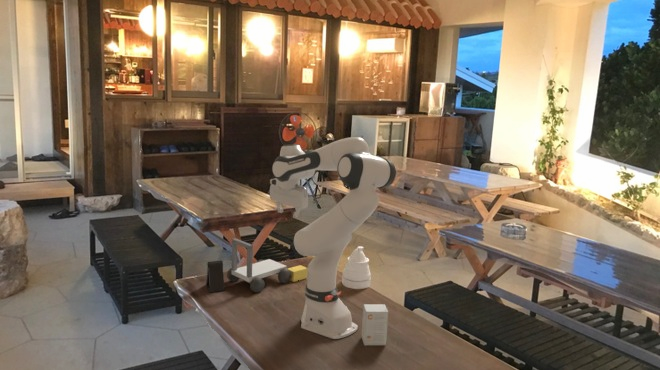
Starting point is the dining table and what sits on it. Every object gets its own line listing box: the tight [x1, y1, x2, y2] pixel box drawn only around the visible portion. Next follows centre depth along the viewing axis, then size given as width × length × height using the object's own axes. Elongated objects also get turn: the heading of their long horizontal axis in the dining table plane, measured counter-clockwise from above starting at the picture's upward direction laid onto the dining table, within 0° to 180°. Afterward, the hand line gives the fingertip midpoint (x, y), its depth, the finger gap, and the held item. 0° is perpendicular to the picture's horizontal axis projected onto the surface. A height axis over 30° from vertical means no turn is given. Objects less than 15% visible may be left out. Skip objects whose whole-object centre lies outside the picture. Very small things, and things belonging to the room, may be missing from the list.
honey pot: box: [341, 245, 372, 290], centre depth 245 cm, size 13×13×18 cm
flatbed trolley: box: [226, 238, 292, 294], centre depth 241 cm, size 22×18×21 cm
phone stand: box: [205, 260, 225, 293], centre depth 232 cm, size 9×6×12 cm, turn 25°
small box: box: [361, 303, 389, 346], centre depth 193 cm, size 8×6×13 cm
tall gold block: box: [287, 264, 308, 283], centre depth 248 cm, size 5×8×5 cm, turn 133°
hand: (288, 214), depth 227 cm, fingers open, 8 cm apart
